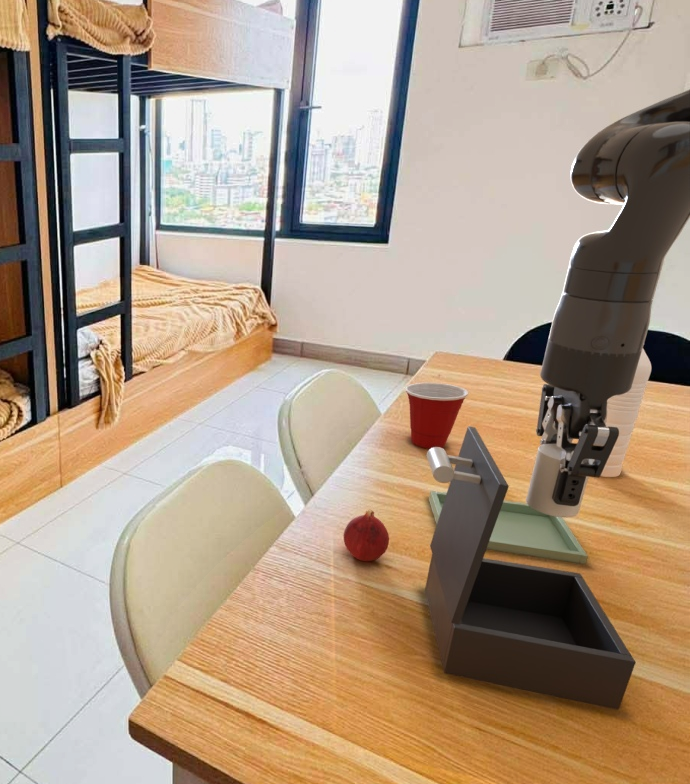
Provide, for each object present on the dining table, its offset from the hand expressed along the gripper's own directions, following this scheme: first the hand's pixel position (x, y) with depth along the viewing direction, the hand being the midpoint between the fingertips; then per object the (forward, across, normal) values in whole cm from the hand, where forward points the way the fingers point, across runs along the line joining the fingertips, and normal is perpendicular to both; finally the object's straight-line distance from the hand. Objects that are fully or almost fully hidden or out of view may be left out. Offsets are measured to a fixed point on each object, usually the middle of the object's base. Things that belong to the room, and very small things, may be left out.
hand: (555, 490), depth 68 cm
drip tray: (+19, +23, -3) cm, 30 cm away
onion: (+19, +10, +17) cm, 27 cm away
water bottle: (+19, +52, -26) cm, 61 cm away
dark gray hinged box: (+19, -4, +2) cm, 19 cm away
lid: (+3, -3, +9) cm, 10 cm away
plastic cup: (+19, +54, +2) cm, 58 cm away
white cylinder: (+2, 0, 0) cm, 2 cm away
